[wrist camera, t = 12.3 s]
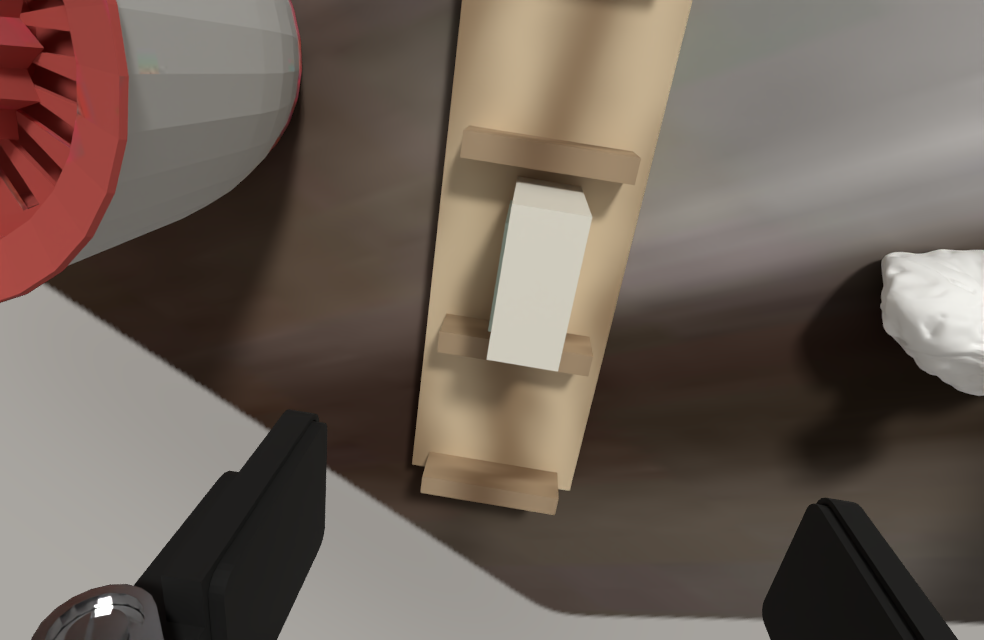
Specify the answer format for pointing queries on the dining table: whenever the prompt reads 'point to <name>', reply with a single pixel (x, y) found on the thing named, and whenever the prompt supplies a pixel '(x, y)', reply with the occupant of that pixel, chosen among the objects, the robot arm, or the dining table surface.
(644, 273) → the dining table surface
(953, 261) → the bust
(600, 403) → the dining table surface
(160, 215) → the citrus juicer
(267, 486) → the robot arm
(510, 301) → the frame block
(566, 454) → the wooden rack
